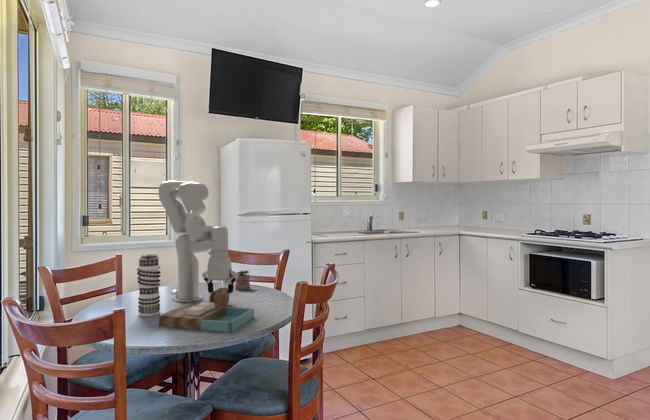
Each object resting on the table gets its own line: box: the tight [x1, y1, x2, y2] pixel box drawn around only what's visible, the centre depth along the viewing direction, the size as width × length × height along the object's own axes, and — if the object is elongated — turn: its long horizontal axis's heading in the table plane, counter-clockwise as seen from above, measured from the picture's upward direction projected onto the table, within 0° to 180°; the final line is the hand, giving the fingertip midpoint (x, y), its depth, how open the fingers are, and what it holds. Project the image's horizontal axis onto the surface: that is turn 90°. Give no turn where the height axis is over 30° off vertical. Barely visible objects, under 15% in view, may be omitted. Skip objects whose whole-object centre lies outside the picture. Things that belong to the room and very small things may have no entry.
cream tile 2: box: [197, 301, 215, 311], centre depth 166 cm, size 5×5×2 cm
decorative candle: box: [136, 253, 162, 317], centre depth 173 cm, size 9×9×25 cm
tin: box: [208, 287, 230, 306], centre depth 183 cm, size 15×3×8 cm, turn 168°
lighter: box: [234, 270, 251, 291], centre depth 221 cm, size 8×3×10 cm, turn 117°
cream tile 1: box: [187, 306, 205, 315], centre depth 159 cm, size 5×5×2 cm
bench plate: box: [158, 302, 228, 331], centre depth 164 cm, size 18×20×4 cm
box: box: [200, 306, 255, 333], centre depth 160 cm, size 12×20×4 cm, turn 166°
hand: (220, 292), depth 182 cm, fingers open, 9 cm apart
